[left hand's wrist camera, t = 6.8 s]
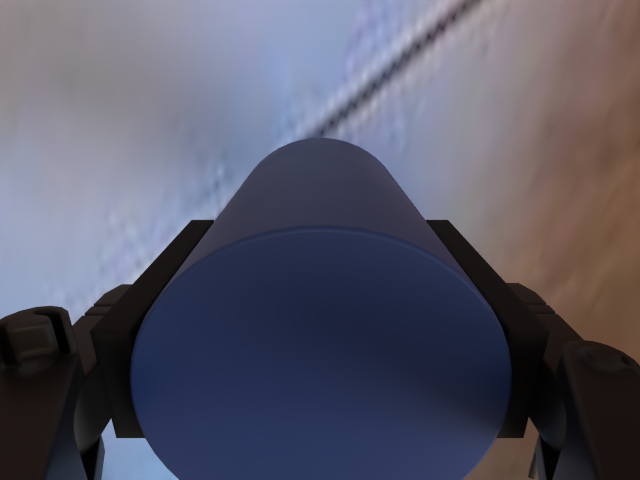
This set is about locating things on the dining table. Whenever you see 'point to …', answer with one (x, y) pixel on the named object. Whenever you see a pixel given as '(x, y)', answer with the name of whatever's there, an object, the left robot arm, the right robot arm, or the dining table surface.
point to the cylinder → (320, 336)
